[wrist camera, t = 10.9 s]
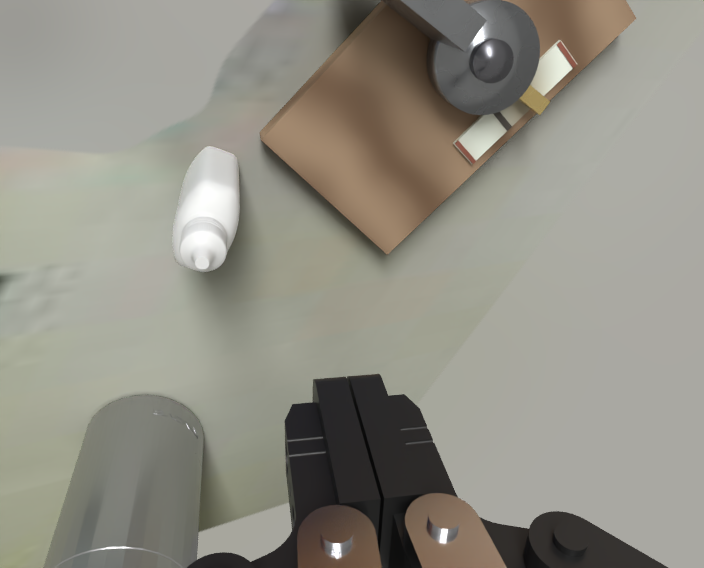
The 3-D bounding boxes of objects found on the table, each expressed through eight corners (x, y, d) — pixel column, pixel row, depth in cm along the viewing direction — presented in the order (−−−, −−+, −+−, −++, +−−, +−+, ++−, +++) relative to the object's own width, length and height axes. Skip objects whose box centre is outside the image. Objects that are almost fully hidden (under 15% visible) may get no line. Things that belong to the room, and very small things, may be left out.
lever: (506, 146, 40) (547, 172, 35) (313, 2, 34) (328, 8, 28) (570, 61, 38) (624, 76, 33) (378, -108, 32) (406, -122, 27)
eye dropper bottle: (262, 183, 41) (273, 258, 30) (202, 234, 41) (192, 323, 31) (217, 134, 39) (212, 196, 28) (154, 188, 39) (127, 268, 29)
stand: (381, 243, 44) (388, 256, 42) (259, 132, 39) (261, 141, 37) (618, 16, 40) (639, 18, 37) (517, -147, 34) (536, -154, 32)
